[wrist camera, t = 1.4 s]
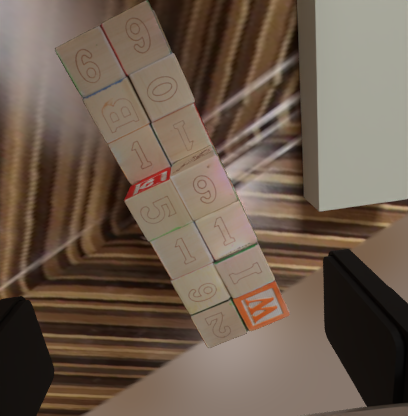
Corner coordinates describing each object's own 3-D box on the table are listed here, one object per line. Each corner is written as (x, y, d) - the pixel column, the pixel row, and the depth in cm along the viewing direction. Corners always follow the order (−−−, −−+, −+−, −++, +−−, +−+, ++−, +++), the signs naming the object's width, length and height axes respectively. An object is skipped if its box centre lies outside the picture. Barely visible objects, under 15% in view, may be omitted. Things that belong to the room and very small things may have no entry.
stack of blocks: (93, 59, 28) (28, 38, 16) (161, 24, 28) (144, -22, 16) (200, 265, 35) (208, 352, 23) (256, 241, 34) (292, 318, 23)
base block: (296, -17, 27) (314, -34, 23) (395, -31, 27) (430, -50, 23) (303, 197, 33) (319, 211, 29) (385, 185, 33) (410, 198, 29)
